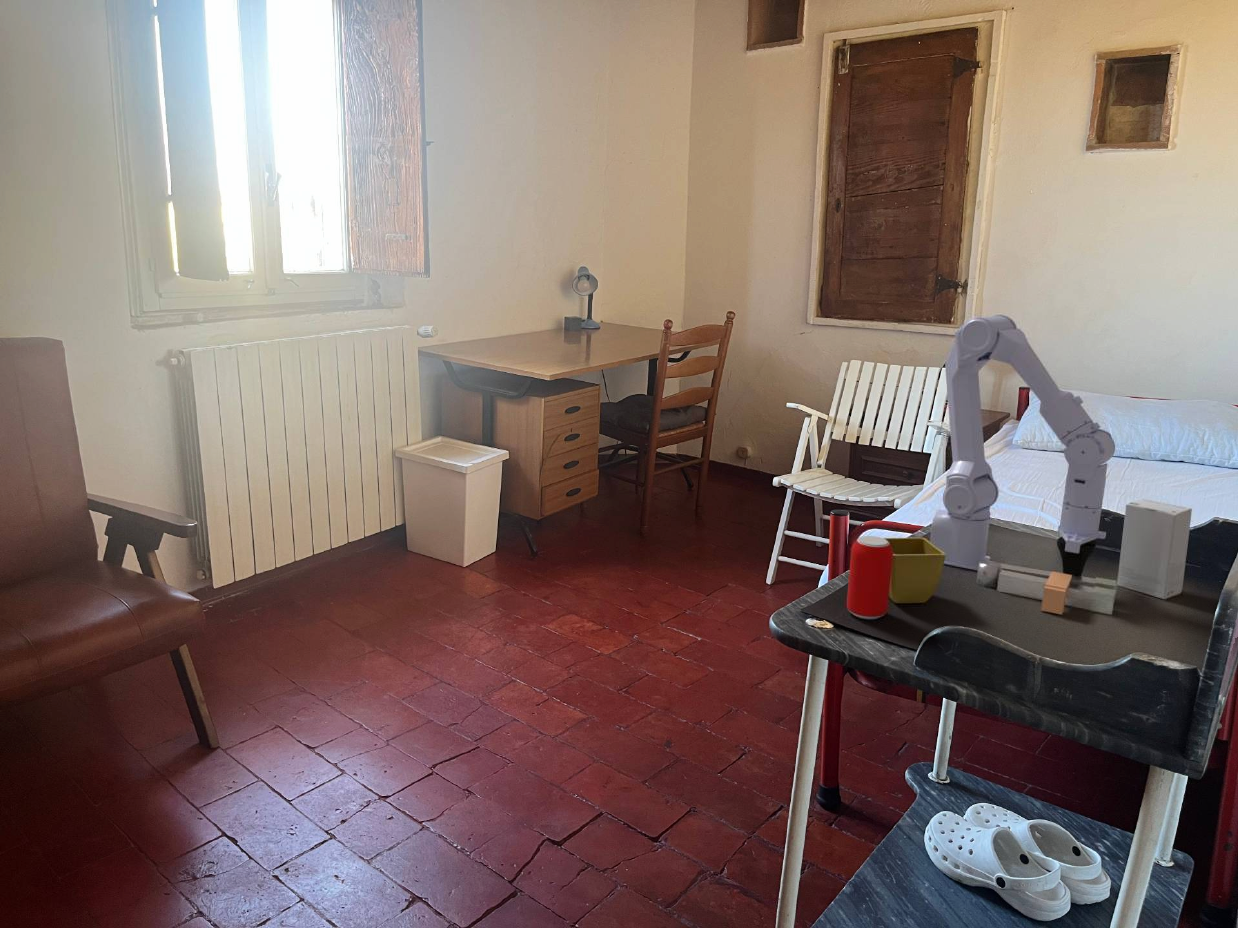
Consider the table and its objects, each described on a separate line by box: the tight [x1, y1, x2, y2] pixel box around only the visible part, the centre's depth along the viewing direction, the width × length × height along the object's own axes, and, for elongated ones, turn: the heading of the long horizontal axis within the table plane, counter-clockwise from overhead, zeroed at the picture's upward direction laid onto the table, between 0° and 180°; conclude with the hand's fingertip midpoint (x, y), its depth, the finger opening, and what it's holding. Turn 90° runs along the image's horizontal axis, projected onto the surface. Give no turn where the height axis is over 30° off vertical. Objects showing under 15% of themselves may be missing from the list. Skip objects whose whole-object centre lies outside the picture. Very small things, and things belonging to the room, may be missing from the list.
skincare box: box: [1116, 498, 1193, 600], centre depth 152 cm, size 8×6×15 cm
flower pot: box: [883, 537, 946, 604], centre depth 147 cm, size 9×9×9 cm
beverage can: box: [846, 535, 893, 620], centre depth 140 cm, size 6×6×12 cm
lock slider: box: [1040, 571, 1072, 616], centre depth 145 cm, size 3×8×4 cm, turn 148°
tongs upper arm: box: [976, 560, 1118, 591], centre depth 151 cm, size 21×5×4 cm, turn 63°
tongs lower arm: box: [996, 570, 1117, 616], centre depth 148 cm, size 17×3×3 cm, turn 58°
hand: (1071, 581), depth 152 cm, fingers closed
